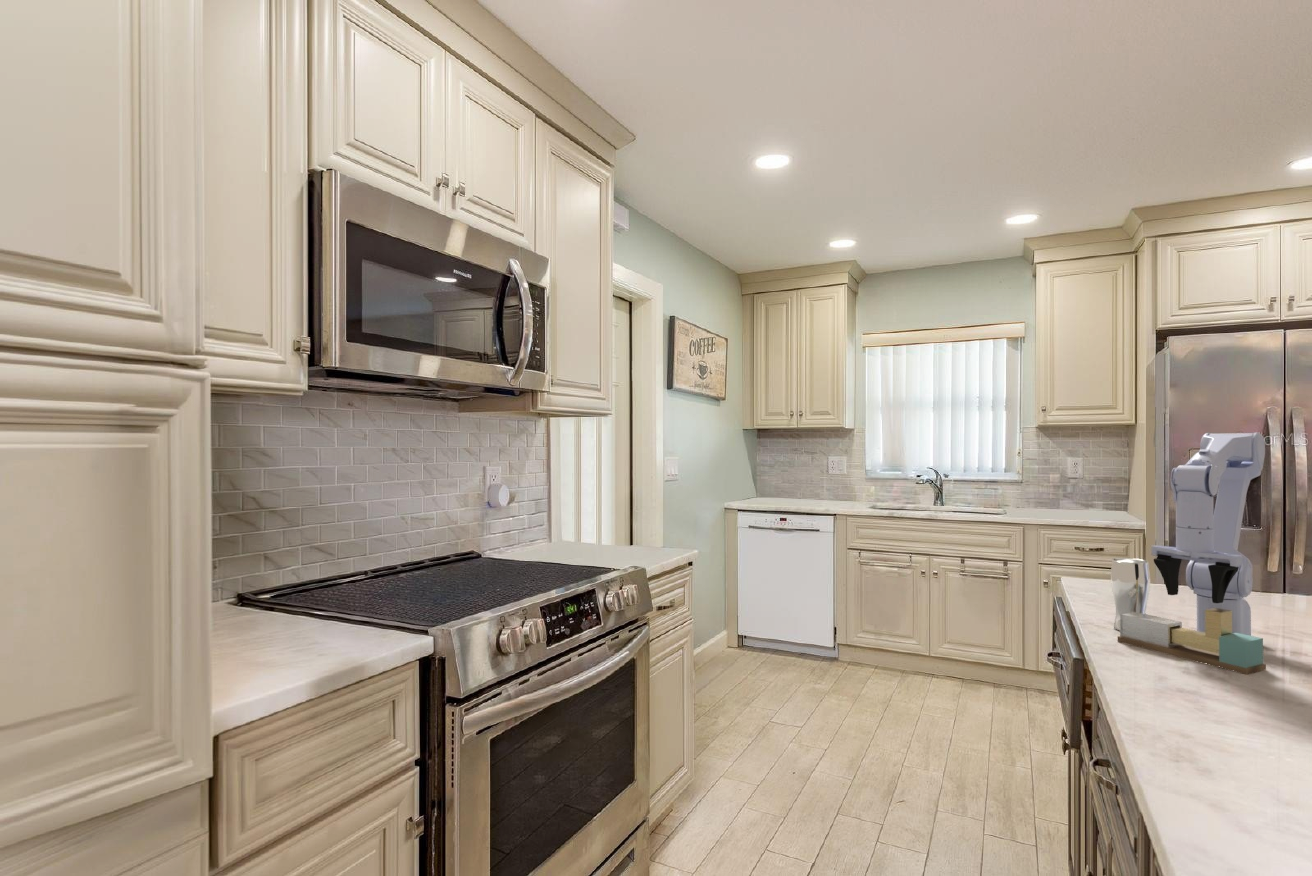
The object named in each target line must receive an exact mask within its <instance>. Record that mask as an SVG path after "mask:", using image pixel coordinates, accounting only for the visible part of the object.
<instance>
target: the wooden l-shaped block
mask: <svg viewBox="0 0 1312 876" xmlns="http://www.w3.org/2000/svg"><path fill="white" fill-rule="evenodd" d="M1228 634H1232V611H1231V610H1225V609H1220V608H1212V609H1207V610H1205V633H1204V632H1199V631H1197V630H1194V629H1190V628H1185V627H1182V628H1181V627H1177V626H1174V627H1170V642H1173V643H1177V644H1181V645H1185V646H1189V647H1193V648H1198V649H1202V650H1206V651H1210V652H1214V653H1218V654H1219V636H1223V635H1228Z"/></svg>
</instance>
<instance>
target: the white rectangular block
mask: <svg viewBox="0 0 1312 876" xmlns="http://www.w3.org/2000/svg"><path fill="white" fill-rule="evenodd" d="M1182 623H1183V622H1182V621H1179V620H1175V619H1170V618H1165V617H1160V616H1156V615H1151V614H1142V613H1138V612H1128V613H1122V614H1120V631H1119V636H1122V637H1126V638H1130V639H1134V640H1138V641H1142V642H1146V643H1150V644H1154V645H1158V646H1162V647H1166V648H1171V647H1175V646H1180V645H1181V644H1177V643H1173V642H1170V627H1174V626H1177V627H1181V628H1183V625H1182Z"/></svg>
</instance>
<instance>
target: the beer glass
mask: <svg viewBox="0 0 1312 876" xmlns="http://www.w3.org/2000/svg"><path fill="white" fill-rule="evenodd" d="M1110 569H1111V570H1110V582H1111V585H1110V587H1111V591H1112V597H1113V601H1114V605H1115V606H1114V607H1115V619H1114V624H1113V628H1114V630H1116V629H1117V630H1116V631H1118V630H1120V614H1122V613H1128V612H1138V613H1142V614H1146V613H1147V607H1148V606H1147V605H1148V602H1149V598H1150V597H1149V596H1150V591H1151V573H1150V562H1149V560H1145V559H1140V558H1130V557H1114V558H1112V559H1111V568H1110Z"/></svg>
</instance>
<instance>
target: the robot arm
mask: <svg viewBox="0 0 1312 876" xmlns="http://www.w3.org/2000/svg"><path fill="white" fill-rule="evenodd" d="M1199 445H1200V448H1199V451H1198V452H1196V453H1194V454H1193V456H1191V458H1190V459H1189V460H1188V461H1187V462H1186V463H1185V464H1180V465H1178V466H1177V467H1173V468H1172V470H1171V473H1170V481H1169V482H1170V487H1171V491H1172V500H1173V503H1175V546H1165V545H1156V544H1155V545H1151V546H1150V550H1151V551H1150V555H1151V556H1155V557H1156V558H1153V563H1154V565H1156V567H1157V570H1158V571H1159V573H1160V574H1161V577H1162V580H1163V582H1164V585H1165V588H1166V593H1167V595H1168V596H1177V595H1178V594H1179V575H1180V574H1179V573H1180V568H1181V564H1182V561H1183V560H1186V561H1187V560H1188V561H1189V562H1188V563H1187V565H1186V568H1185V582H1186V585H1187V587H1188V588H1189V589H1190V590H1191V591H1193V594H1194V595H1196V631H1199V632H1204V633H1205V610H1207V609H1212V608H1220V609H1225V610H1231V611H1232V634H1233V633H1240V634H1245V635H1250V636H1252V610H1251V605H1250V603H1249V602H1248V601H1247V600H1246V598H1247V597H1248V596H1249V595H1251V593H1252V590H1253V587H1254V586H1253V582H1254V580H1253V579H1254V577H1253V568H1254V566H1253V564H1252V562H1251V560H1250V558H1248V557H1247V556H1246V555H1244V554H1243V553H1242V552H1240V551H1238V550H1239V549H1238V548H1239V543H1240V537H1241V531H1242V525H1243V518H1244V512H1245V506H1246V500H1247V493H1248V489H1249V487H1250V483H1251V481H1252V480H1253V479H1255V478H1257V477H1260V476H1261V474H1262V471H1263V469H1264V462H1265V456H1266V441H1265V437H1264V436H1263V435H1262V434H1261V433H1260V432H1259V431H1258V432H1256V431H1255V432H1252V433H1251V432H1249V433H1248V432H1242V433H1241V432H1239V433H1237V432H1236V433H1235V432H1234V433H1232V432H1231V433H1227V432H1226V433H1211V432H1206V433H1204V434H1203V435H1202V436H1201V439H1200V444H1199ZM1215 495H1216V500H1215V505H1214V496H1215ZM1214 506H1215V507H1214Z"/></svg>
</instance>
